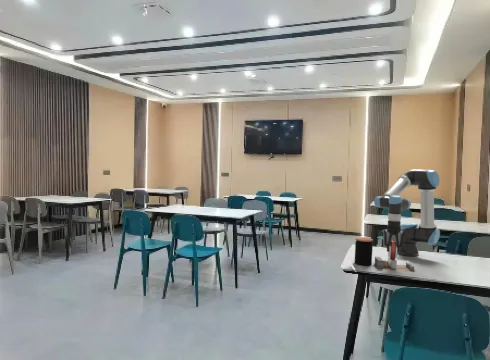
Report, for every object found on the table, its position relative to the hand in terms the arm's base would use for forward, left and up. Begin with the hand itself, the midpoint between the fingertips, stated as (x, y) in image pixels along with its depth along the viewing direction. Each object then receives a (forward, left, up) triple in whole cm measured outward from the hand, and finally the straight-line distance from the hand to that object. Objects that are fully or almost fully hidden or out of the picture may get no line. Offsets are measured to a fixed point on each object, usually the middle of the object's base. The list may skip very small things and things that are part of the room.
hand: (392, 256), depth 230 cm
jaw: (0, 0, -6) cm, 6 cm away
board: (0, +1, -8) cm, 8 cm away
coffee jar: (-4, -17, -8) cm, 19 cm away
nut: (0, -4, -7) cm, 8 cm away
